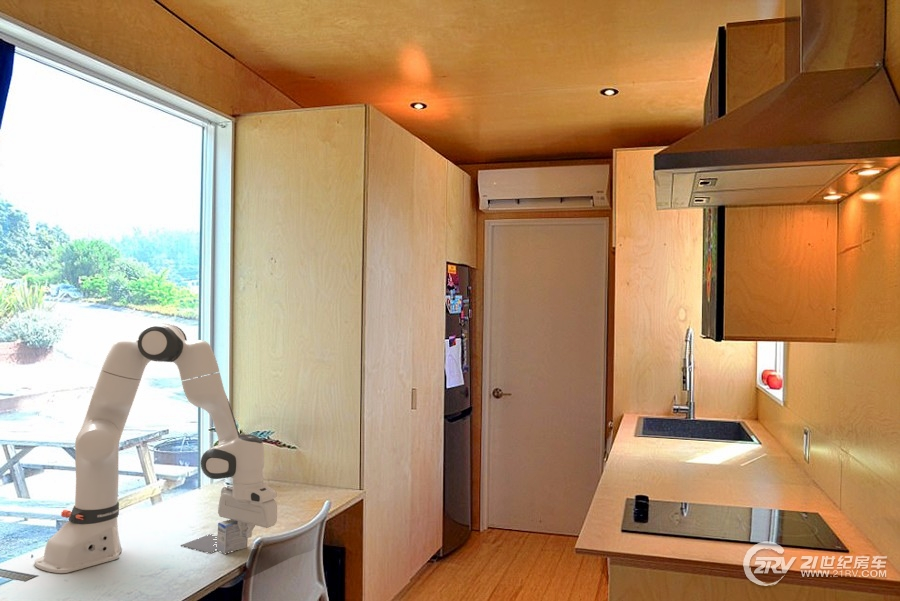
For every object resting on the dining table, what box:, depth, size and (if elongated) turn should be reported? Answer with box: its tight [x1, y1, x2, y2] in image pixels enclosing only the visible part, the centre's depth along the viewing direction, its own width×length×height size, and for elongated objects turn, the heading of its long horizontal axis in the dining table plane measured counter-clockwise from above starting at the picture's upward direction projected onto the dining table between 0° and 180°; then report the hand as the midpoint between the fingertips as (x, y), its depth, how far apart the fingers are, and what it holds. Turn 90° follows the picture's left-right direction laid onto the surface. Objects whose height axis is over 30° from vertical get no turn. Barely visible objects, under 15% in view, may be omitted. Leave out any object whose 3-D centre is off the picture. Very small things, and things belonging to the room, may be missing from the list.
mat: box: [180, 533, 218, 554], centre depth 212 cm, size 12×12×1 cm
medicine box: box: [217, 519, 249, 555], centre depth 208 cm, size 8×4×9 cm, turn 141°
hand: (245, 536), depth 205 cm, fingers closed
